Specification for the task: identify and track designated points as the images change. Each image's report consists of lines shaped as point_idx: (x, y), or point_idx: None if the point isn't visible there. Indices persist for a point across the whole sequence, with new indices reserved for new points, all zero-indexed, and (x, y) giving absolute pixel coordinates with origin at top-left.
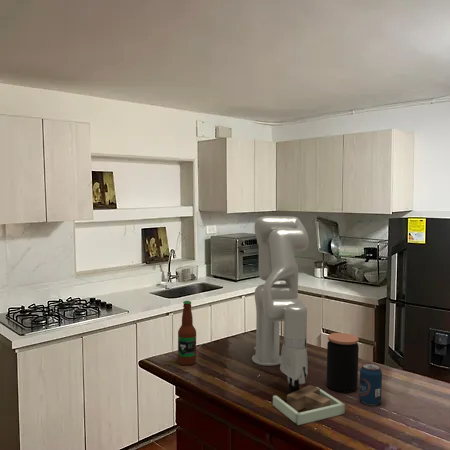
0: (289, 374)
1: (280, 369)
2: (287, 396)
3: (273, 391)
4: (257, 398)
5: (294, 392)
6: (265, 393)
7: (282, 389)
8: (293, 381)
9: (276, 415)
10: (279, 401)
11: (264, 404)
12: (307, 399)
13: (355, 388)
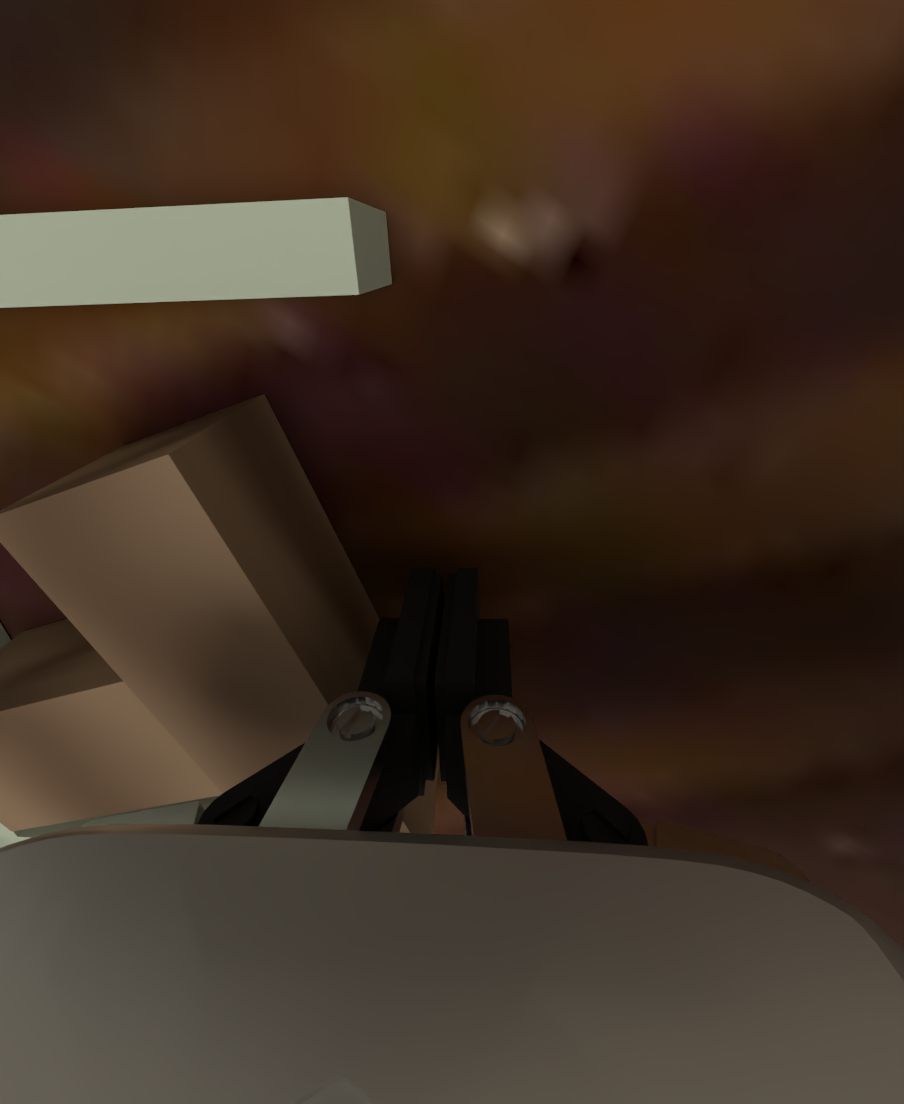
0: (217, 928)
1: (844, 922)
2: (167, 450)
3: (781, 482)
4: (760, 33)
5: (258, 620)
6: (817, 327)
7: (745, 611)
8: (308, 781)
9: (6, 54)
10: (84, 213)
11: (463, 48)
12: (106, 662)
13: None
